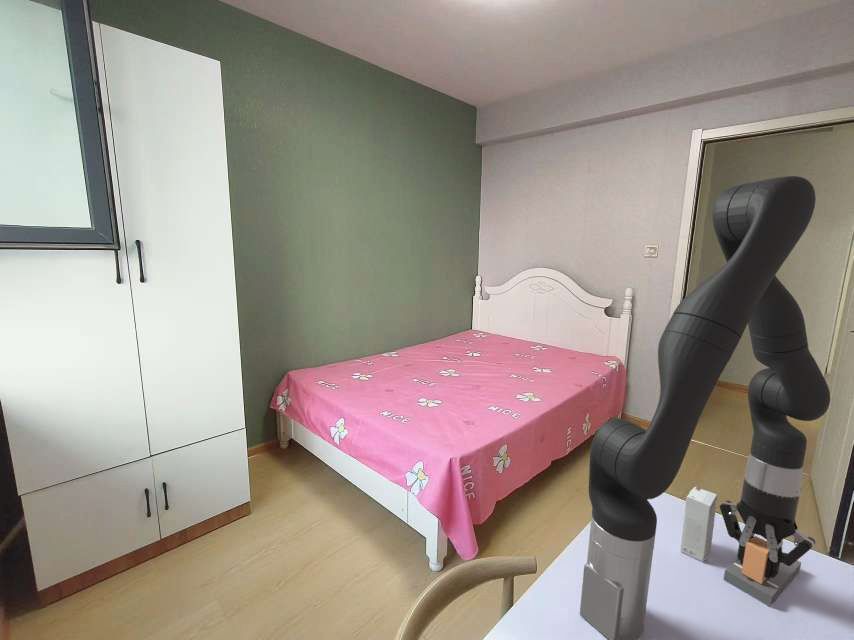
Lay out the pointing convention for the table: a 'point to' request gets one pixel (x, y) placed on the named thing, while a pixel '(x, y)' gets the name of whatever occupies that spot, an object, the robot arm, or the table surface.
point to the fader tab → (755, 559)
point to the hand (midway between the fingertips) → (756, 569)
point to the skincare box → (698, 523)
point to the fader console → (769, 587)
